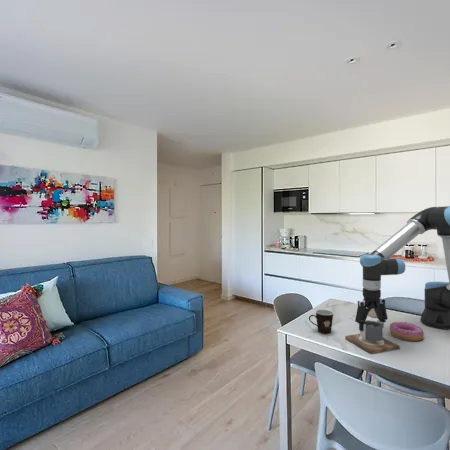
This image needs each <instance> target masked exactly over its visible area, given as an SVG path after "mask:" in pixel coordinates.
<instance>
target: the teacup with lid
mask: <svg viewBox="0 0 450 450" xmlns="http://www.w3.org/2000/svg"><path fill="white" fill-rule="evenodd" d="M366 308H367V307H366ZM367 309H368V308H367ZM368 316H369V317H371V318H377V319H378V317H377V315H376V313H375V310H374V308H373V309H371V311H369V313H368ZM368 316H367V317H368Z"/></svg>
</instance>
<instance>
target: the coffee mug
mask: <svg viewBox="0 0 450 450" xmlns="http://www.w3.org/2000/svg"><path fill="white" fill-rule="evenodd" d="M311 317H315V319H316V323H315V322H313V321H312V320H311ZM333 317H334V312H333V310H329V309H317V310H315V314H311V315H309V317H308V320H309V322H311V323H312V324H313V325H314V326H316V328H317V332H318V333H320V334H323V335H329V334H331V333H332V329H333V328H332V327H333V320H334V318H333Z"/></svg>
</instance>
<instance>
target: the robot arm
mask: <svg viewBox="0 0 450 450" xmlns="http://www.w3.org/2000/svg"><path fill="white" fill-rule="evenodd" d="M431 230H434V231H435V230H436V233H437V236H438V237H440V238H441V241H442V247H443V253H444V258H445V265H446V270H447V271H446V272H447V277H448V281H429V282H428V281H427V282H426V283H425V284H424V289H423V290H424V308H423V311H422V313H421V315H420V322H421V324H423V325H425V326H427V327H430V328H434V329H440V330H450V205H448V206H447V205H446V206H430V207H427V208H424V209H423V210H421V211H419V212H417V213H416V214H414V215H413V216H412V217H411V218H409V219H407V221H406V224H405V225H404V226H402V227H401V228H400V229H399V230H397V231H396V232H395V233H394V234H393V235H392V236H390V237H389V238H388V239H387V240H385V241H384V242H383V243H382V244H381V245H379V246H378V247H377V248H376V249H374V250H373V251H372V252H371V253H365V254H362V255H361V256H360V258H359V264H360V265H361V267H362V287H363V288H362V297H363V299H362V301H361V300H358V301H357V309H356V313H355V320H354V321H355V323H357V324H358V330H359V334H360V337H362V338H364V339H366V325H365V324H364V323H365V321H366V320H367V318H368V313H369V311H371V309H373V308H374V310H375V313H376V315H377V317H378V318H377V319H378V320H376V322H378V323H380V324H383V328H384V326H385V325H384V323H386V322H387V320H388V313H387V309H386V308H387V307H386V299H383V298H382V293H381V292H382V290H381V288H382V286H381V285H382V284H381V283H382V282H381V281H382V276H393V275H395V276H396V275H397V276H399V275H403V274H404V273H405V271H406V263H405V261H404V260H403V259H401V258H395V257H393V256H394V255H395V254H397V253H398V252H399V251H400V250H401V249H403V248H404V247H405V246H406V245H407V244H409V243H410V242H411V241H413V240H414V239H415V238H416V237H417V236H419V235H423V234H424V233H425V232H427V231H431ZM392 257H393V258H392ZM367 308H368V309H367Z"/></svg>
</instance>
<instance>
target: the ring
mask: <svg viewBox="0 0 450 450" xmlns="http://www.w3.org/2000/svg"><path fill="white" fill-rule="evenodd" d="M364 324H365V325H366V340H371V341H381V340H383V338H384V334H383V333H384V327H383V324H380V323H378V322H377V320H376V321H374V320H368V319H366V321H365V323H364ZM369 325H373V326H374V327H373V326H369Z"/></svg>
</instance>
